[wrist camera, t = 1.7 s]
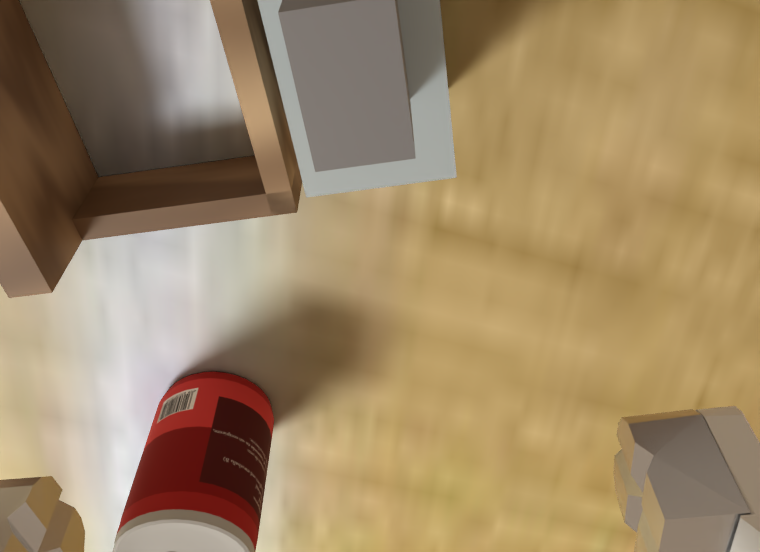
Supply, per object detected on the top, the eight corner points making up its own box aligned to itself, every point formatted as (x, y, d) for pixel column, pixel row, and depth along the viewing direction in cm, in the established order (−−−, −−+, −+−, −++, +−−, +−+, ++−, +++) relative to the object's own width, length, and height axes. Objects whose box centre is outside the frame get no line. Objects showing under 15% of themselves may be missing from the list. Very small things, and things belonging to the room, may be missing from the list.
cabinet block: (414, -205, 27) (436, -167, 17) (443, 93, 34) (471, 243, 24) (256, -176, 27) (188, -124, 17) (319, 111, 34) (296, 264, 24)
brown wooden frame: (303, 170, 36) (288, 263, 30) (71, 201, 37) (9, 297, 31) (197, -267, 25) (137, -266, 19) (-128, -204, 26) (-287, -184, 20)
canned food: (150, 432, 49) (101, 584, 40) (172, 354, 44) (123, 506, 36) (258, 456, 50) (233, 607, 42) (289, 384, 46) (269, 536, 37)
